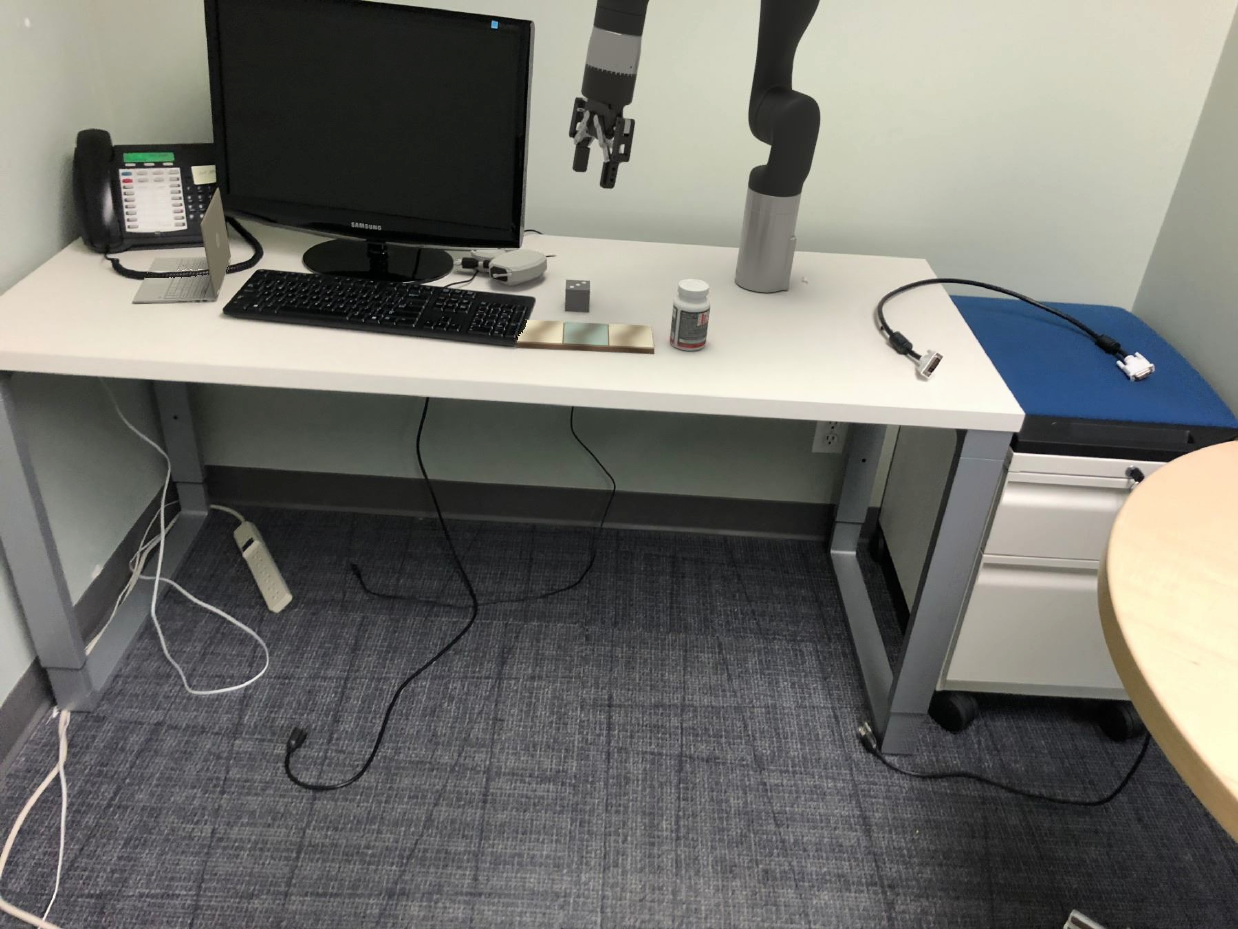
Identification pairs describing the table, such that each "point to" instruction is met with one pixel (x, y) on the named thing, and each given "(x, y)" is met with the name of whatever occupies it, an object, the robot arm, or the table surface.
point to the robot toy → (507, 264)
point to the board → (587, 337)
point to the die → (577, 296)
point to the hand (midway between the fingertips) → (592, 179)
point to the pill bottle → (690, 315)
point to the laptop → (193, 266)
